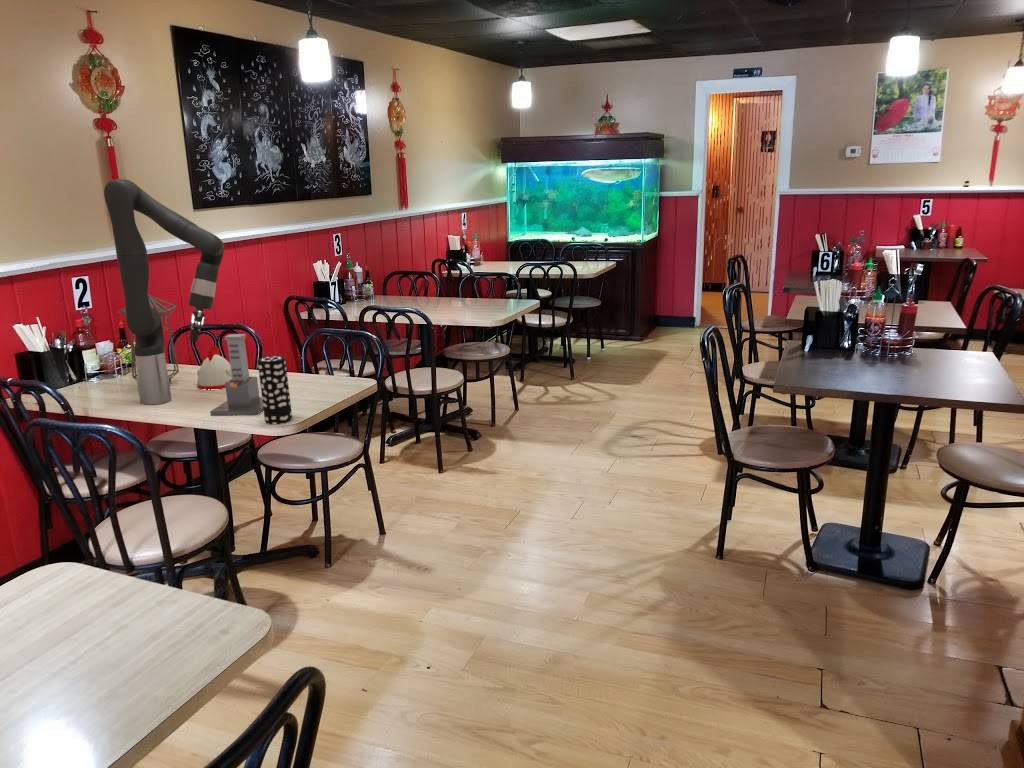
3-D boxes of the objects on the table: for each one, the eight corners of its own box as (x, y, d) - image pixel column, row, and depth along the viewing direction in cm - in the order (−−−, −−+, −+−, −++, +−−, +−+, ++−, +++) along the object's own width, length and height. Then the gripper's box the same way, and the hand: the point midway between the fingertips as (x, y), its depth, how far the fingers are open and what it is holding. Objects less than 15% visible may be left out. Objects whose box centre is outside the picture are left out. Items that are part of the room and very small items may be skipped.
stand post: (233, 405, 252) (224, 337, 246) (239, 401, 256) (230, 334, 250) (248, 405, 251) (239, 336, 245) (254, 401, 256) (245, 334, 250)
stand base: (210, 415, 248) (206, 386, 245) (232, 401, 263) (228, 373, 260) (257, 415, 246) (254, 385, 243) (277, 401, 261) (273, 373, 259)
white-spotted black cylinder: (270, 416, 244) (262, 356, 239) (295, 416, 244) (288, 355, 239) (261, 424, 236) (253, 362, 231) (287, 424, 236) (280, 361, 231)
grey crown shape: (243, 380, 292) (238, 342, 288) (227, 390, 278) (222, 350, 275) (208, 380, 293) (203, 342, 289) (191, 390, 280) (185, 351, 276)
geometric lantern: (147, 381, 296) (135, 291, 287) (187, 381, 295) (176, 291, 286) (126, 391, 280) (113, 297, 272) (168, 391, 280) (156, 297, 271)
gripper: (189, 291, 260) (180, 338, 260) (191, 290, 248) (181, 339, 248) (212, 296, 264) (203, 342, 264) (215, 296, 251) (205, 344, 251)
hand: (192, 341), depth 256 cm, fingers open, 8 cm apart
